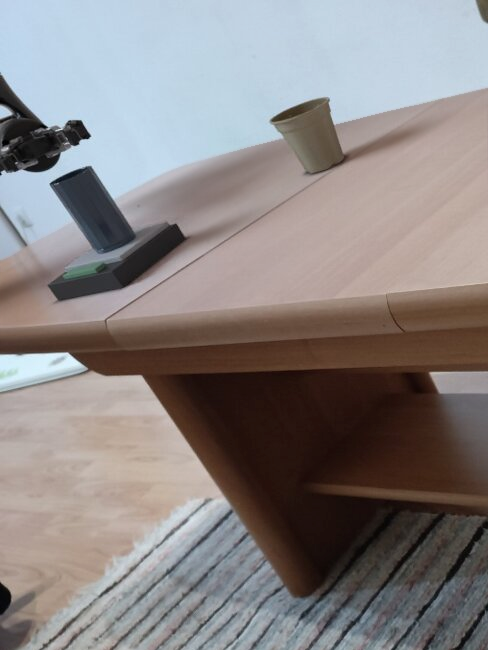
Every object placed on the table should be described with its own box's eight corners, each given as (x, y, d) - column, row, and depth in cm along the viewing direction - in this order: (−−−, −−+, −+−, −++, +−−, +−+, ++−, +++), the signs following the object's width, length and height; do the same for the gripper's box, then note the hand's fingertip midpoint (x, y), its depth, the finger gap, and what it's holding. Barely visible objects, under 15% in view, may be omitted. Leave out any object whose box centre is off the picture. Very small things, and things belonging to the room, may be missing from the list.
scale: (58, 300, 117) (43, 280, 115) (124, 252, 127) (111, 233, 126) (123, 287, 113) (108, 266, 111) (186, 238, 123) (173, 218, 121)
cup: (88, 257, 118) (40, 188, 112) (114, 238, 122) (69, 170, 117) (118, 250, 116) (71, 179, 110) (144, 231, 120) (99, 162, 115)
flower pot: (351, 147, 137) (325, 92, 133) (358, 159, 130) (331, 101, 125) (295, 170, 136) (267, 116, 131) (299, 184, 129) (270, 126, 124)
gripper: (-38, 140, 127) (-29, 145, 115) (57, 101, 132) (76, 102, 121) (-3, 188, 131) (9, 198, 119) (88, 148, 137) (108, 155, 125)
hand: (43, 150), depth 120 cm, fingers open, 8 cm apart
